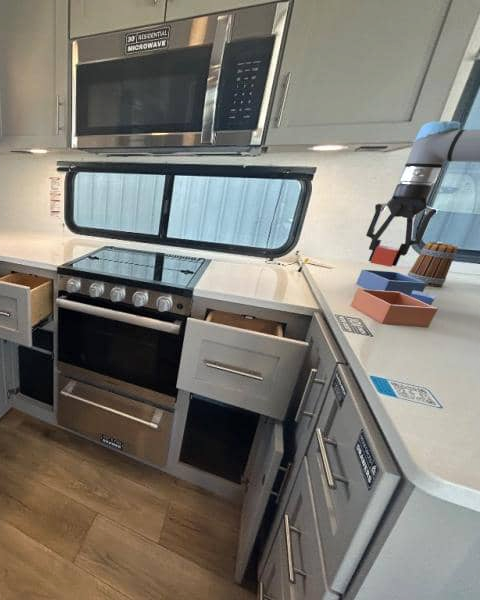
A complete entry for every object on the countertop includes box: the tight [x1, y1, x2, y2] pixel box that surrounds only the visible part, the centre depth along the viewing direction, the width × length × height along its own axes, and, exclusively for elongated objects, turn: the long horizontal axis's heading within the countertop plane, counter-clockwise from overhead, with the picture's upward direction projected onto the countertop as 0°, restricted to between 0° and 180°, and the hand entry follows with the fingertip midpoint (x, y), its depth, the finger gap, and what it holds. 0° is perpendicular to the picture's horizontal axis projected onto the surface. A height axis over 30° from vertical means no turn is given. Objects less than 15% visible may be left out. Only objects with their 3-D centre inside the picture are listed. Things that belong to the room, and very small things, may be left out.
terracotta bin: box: [350, 288, 439, 328], centre depth 93 cm, size 12×12×6 cm
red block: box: [369, 244, 400, 268], centre depth 101 cm, size 5×5×5 cm
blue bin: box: [356, 269, 427, 296], centre depth 114 cm, size 12×12×6 cm
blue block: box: [410, 290, 436, 306], centre depth 99 cm, size 5×5×5 cm
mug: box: [406, 241, 458, 288], centre depth 127 cm, size 16×11×15 cm
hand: (382, 262), depth 102 cm, fingers closed on red block, 5 cm apart
